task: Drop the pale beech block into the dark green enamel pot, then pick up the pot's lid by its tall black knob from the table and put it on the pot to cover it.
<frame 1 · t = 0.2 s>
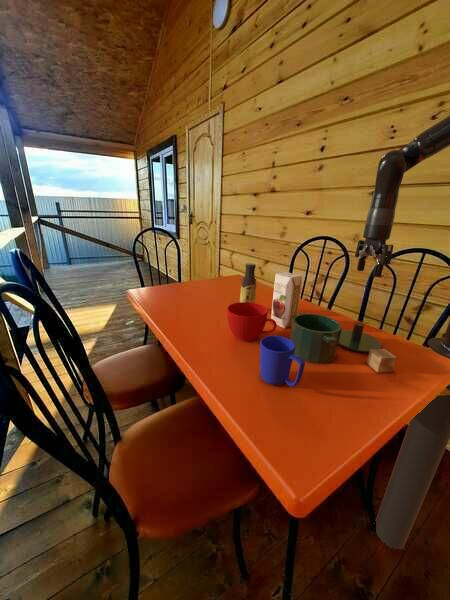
hand: (367, 273, 86), 21 cm above the table, tool pointing down, fingers open, 8 cm apart
block: (379, 367, 70), on the table
juice carton: (282, 324, 96), on the table
sauce bottle: (246, 310, 108), on the table
pot: (311, 350, 77), on the table
ceramic cup: (250, 339, 84), on the table
lid: (355, 340, 83), point 1 cm above the table
mug: (279, 383, 62), on the table
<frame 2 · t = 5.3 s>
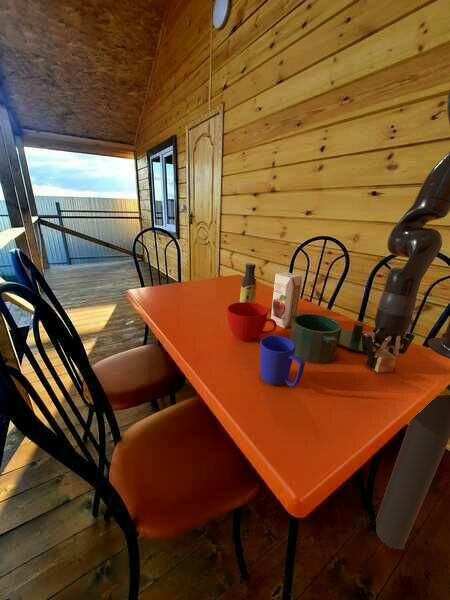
hand: (379, 366, 70), 0 cm above the table, tool pointing down, fingers closed on block, 4 cm apart
block: (379, 367, 70), on the table, touching gripper
everything else where it was.
when the fingers open (8 cm above the table, at t = 10.8 s): block drops 5 cm and tips over, resting on pot.
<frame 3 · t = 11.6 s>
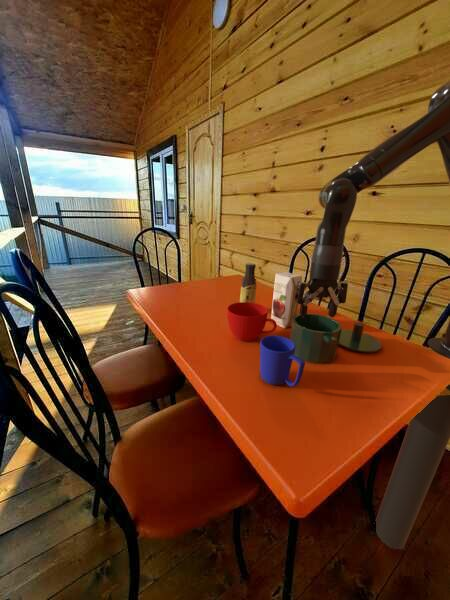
hand: (317, 316, 74), 11 cm above the table, tool pointing down, fingers open, 8 cm apart
block: (309, 342, 77), point 3 cm above the table, tilted 50°, touching pot
everything else where it was.
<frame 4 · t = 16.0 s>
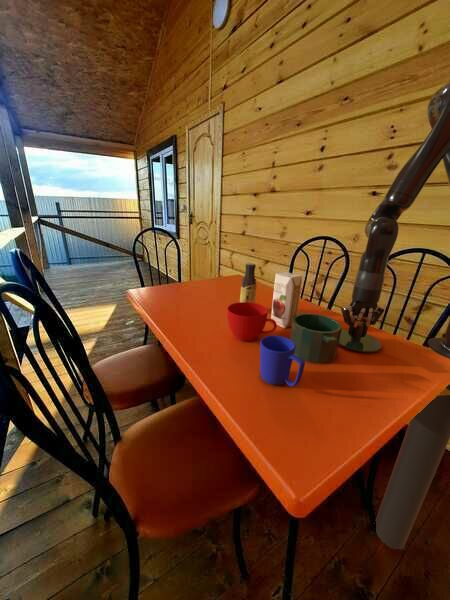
hand: (356, 336, 83), 2 cm above the table, tool pointing down, fingers closed on lid, 3 cm apart
lid: (355, 340, 83), point 1 cm above the table, touching gripper
everything else where it was.
when the fingers open (11 cm above the table, at t = 21.5 s): lid stays where it is, resting on pot.
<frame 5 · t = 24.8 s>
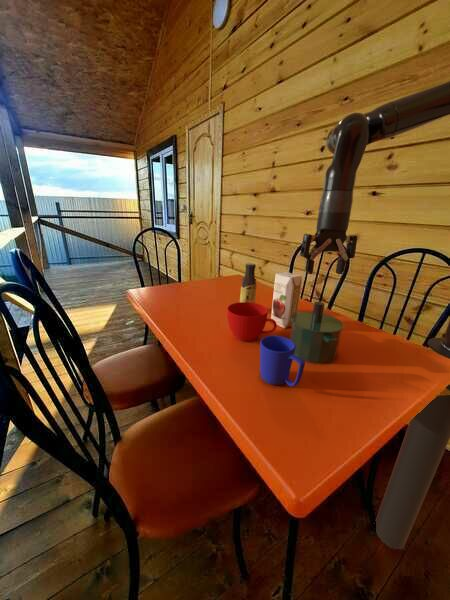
hand: (324, 273, 69), 24 cm above the table, tool pointing down, fingers open, 8 cm apart
lid: (316, 322, 74), point 9 cm above the table, touching pot
everything else where it was.
at the end: block inside the target area in the pot (0.9 cm from its centre), point 2.5 cm above the pot's base; lid 0.0 cm off-centre on the pot, point 9.5 cm above the pot's base; lid tilted 0° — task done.
